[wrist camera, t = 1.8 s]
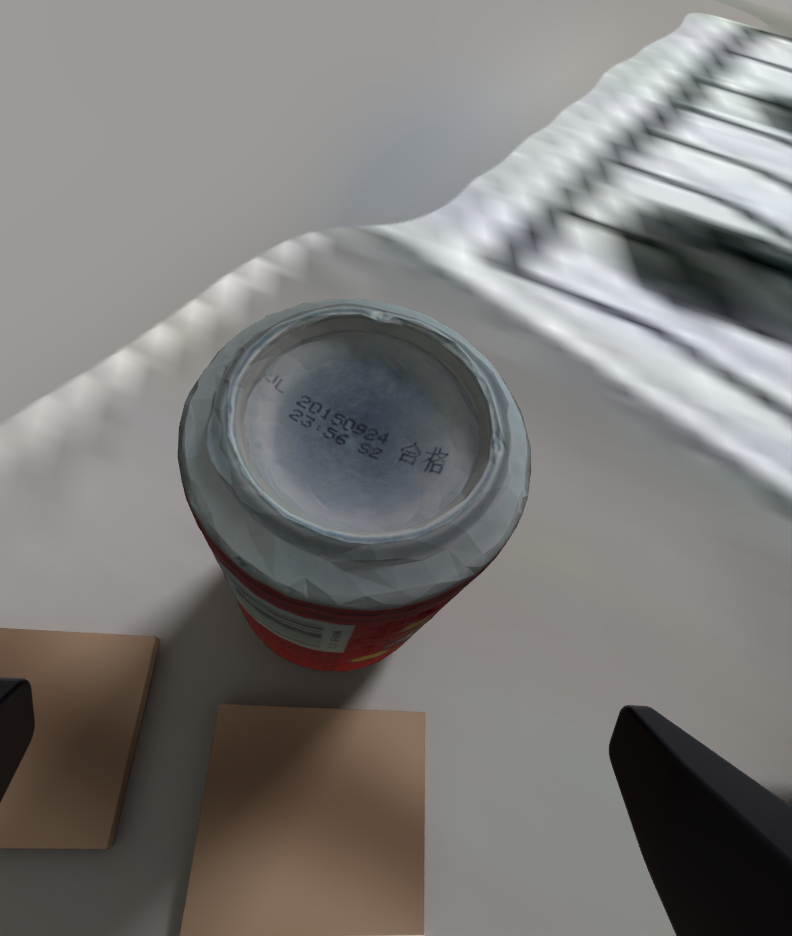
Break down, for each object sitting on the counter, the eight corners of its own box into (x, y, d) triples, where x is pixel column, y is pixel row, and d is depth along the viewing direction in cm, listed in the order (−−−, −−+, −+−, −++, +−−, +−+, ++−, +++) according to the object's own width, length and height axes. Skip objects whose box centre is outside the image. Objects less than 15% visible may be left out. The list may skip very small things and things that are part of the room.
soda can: (400, 702, 19) (524, 656, 8) (211, 646, 19) (80, 524, 8) (440, 526, 22) (566, 327, 11) (280, 478, 22) (254, 232, 11)
